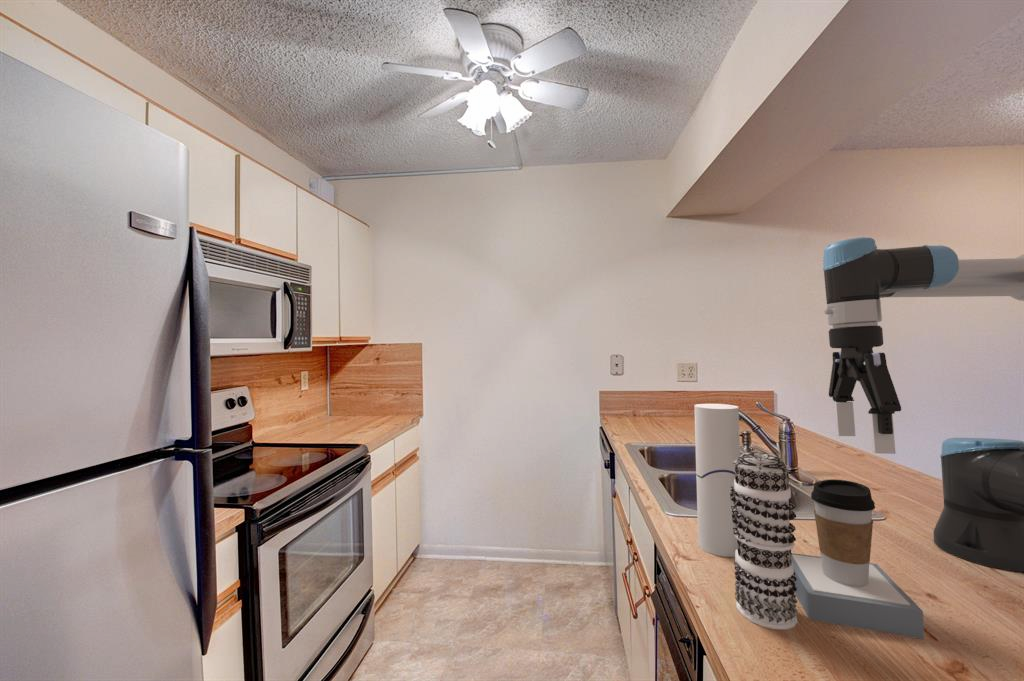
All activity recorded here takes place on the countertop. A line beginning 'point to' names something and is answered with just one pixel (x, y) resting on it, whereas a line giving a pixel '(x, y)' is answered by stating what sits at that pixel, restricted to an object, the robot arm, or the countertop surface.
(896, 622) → the podium
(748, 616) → the decorative candle
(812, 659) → the countertop surface
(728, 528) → the container
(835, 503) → the coffee cup
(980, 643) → the countertop surface
